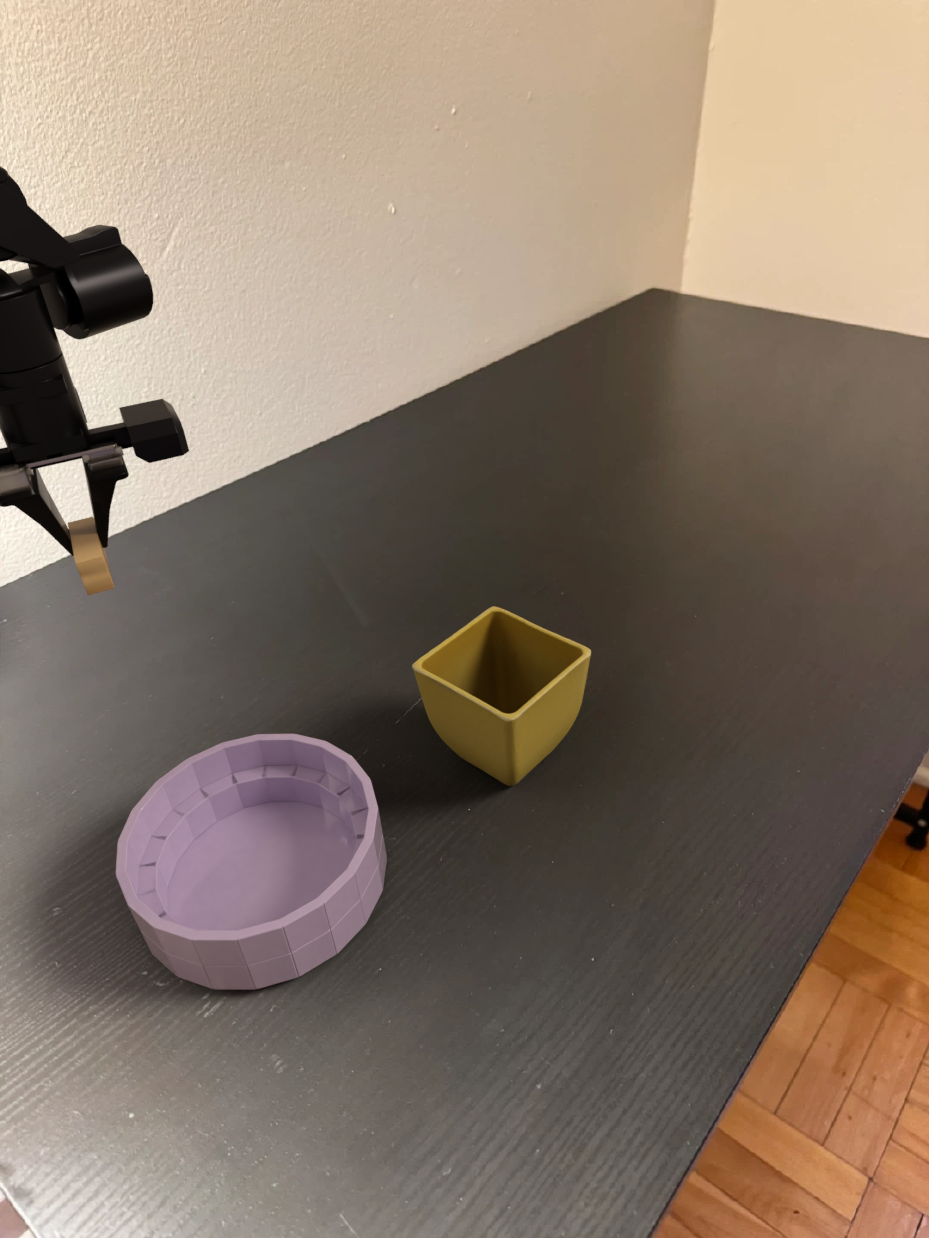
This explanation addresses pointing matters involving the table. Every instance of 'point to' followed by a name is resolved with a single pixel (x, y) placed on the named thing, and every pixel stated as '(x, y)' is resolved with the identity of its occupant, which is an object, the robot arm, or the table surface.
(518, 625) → the flower pot
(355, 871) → the bowl
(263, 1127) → the table surface
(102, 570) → the fork
